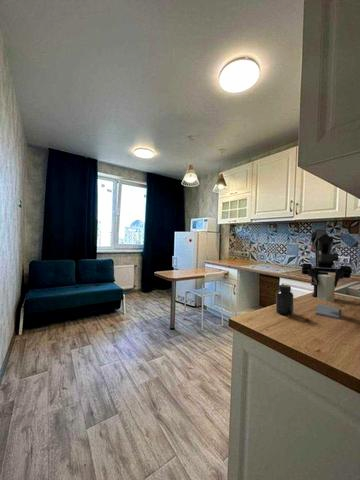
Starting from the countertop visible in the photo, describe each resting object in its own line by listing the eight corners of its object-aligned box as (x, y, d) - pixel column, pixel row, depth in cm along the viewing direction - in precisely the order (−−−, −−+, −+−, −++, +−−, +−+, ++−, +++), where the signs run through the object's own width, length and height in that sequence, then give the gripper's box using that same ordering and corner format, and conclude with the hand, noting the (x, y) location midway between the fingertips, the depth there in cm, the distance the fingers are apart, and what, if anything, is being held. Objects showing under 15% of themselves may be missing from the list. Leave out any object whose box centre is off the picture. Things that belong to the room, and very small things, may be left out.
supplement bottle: (284, 309, 96) (285, 283, 96) (297, 314, 89) (297, 287, 89) (272, 311, 94) (272, 284, 93) (284, 316, 87) (284, 288, 87)
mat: (318, 305, 101) (318, 304, 101) (339, 309, 96) (339, 307, 96) (315, 314, 90) (315, 312, 90) (338, 318, 85) (338, 316, 85)
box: (334, 301, 91) (335, 276, 90) (325, 302, 90) (326, 276, 90) (324, 297, 96) (326, 274, 95) (316, 298, 95) (317, 274, 95)
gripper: (302, 246, 100) (302, 273, 91) (351, 247, 91) (357, 277, 82) (301, 260, 107) (301, 286, 98) (347, 263, 98) (352, 292, 89)
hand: (326, 285), depth 91 cm, fingers closed on box, 6 cm apart
